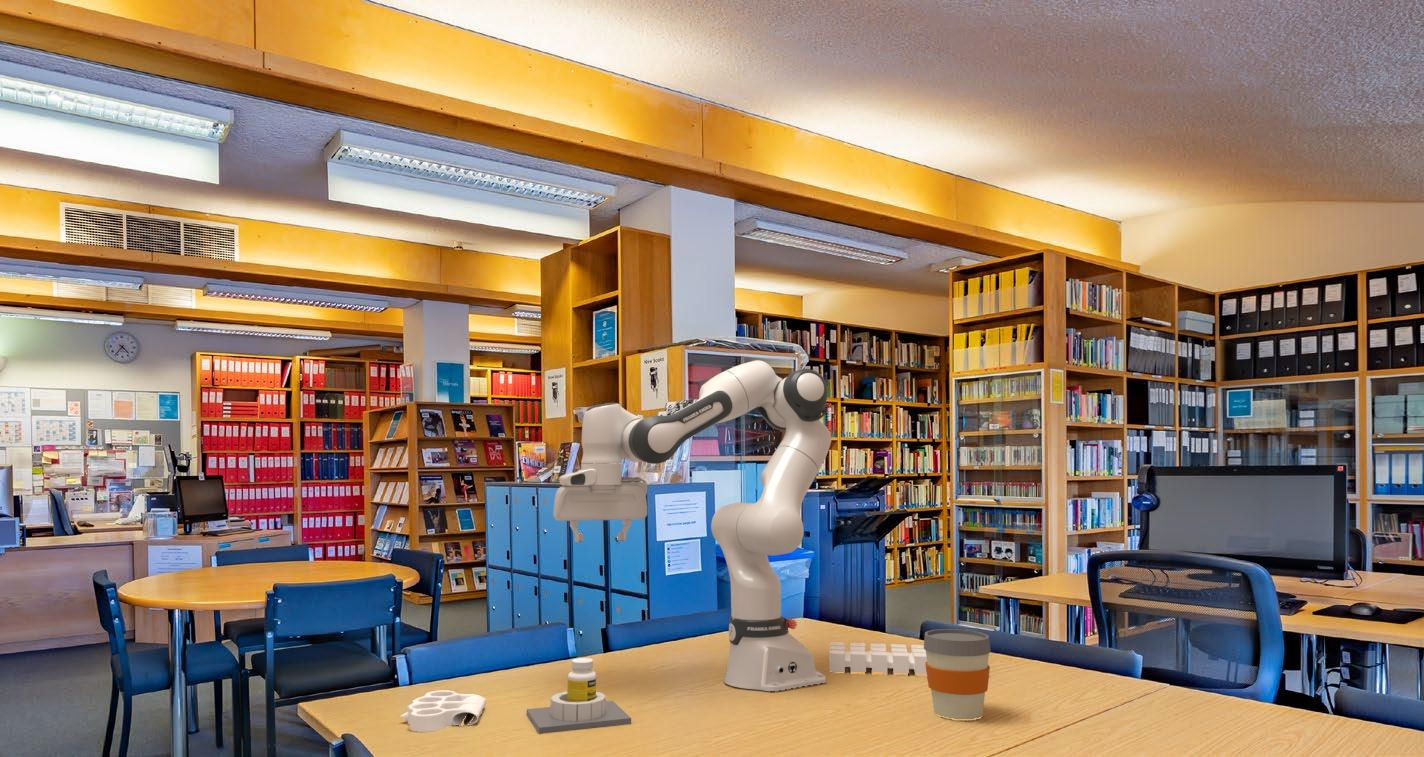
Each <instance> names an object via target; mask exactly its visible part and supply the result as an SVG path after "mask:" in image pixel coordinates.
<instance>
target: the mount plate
mask: <svg viewBox="0 0 1424 757" xmlns="http://www.w3.org/2000/svg"><path fill="white" fill-rule="evenodd" d="M526 716H527V717H528V718H529V721H531V723H532V725H533V726H534V728H535V729H536V731H537V733H538V734H546V733H547V734H549V733H557V732H565V731H566V732H567V731H574V730H575V731H576V730H584V729H593V728H594V729H595V728H603V727H611V726H613V727H614V726H624V725H629V724H632V717H631V716H630V715H629V714H627V713H626V712H625V710H623V709H622V708H621V707H620V706H619V705H618V704H617V703H616V702H615V701H614V700H606V695H605V694H604V693H602V692H599V691H596V699H594V700H590V701H585V702H567V691H563V692H559V693H556V694H553V695H552V696H551V697H550V706H543V707H537V708H536V707H534V708H526Z"/></svg>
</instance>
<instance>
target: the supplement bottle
mask: <svg viewBox="0 0 1424 757" xmlns="http://www.w3.org/2000/svg"><path fill="white" fill-rule="evenodd" d="M593 666H594V660H593V659H592V658H589V657H580V658H579V657H578V658H574V659H572V660H571V671H570V672H569V673H568V675H567V685H566V686H567V688H566V690H567V702H585V701H590V700H594V699H596V692H597V674H596V672H595V671H594V670H593V668H594V667H593Z"/></svg>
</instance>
